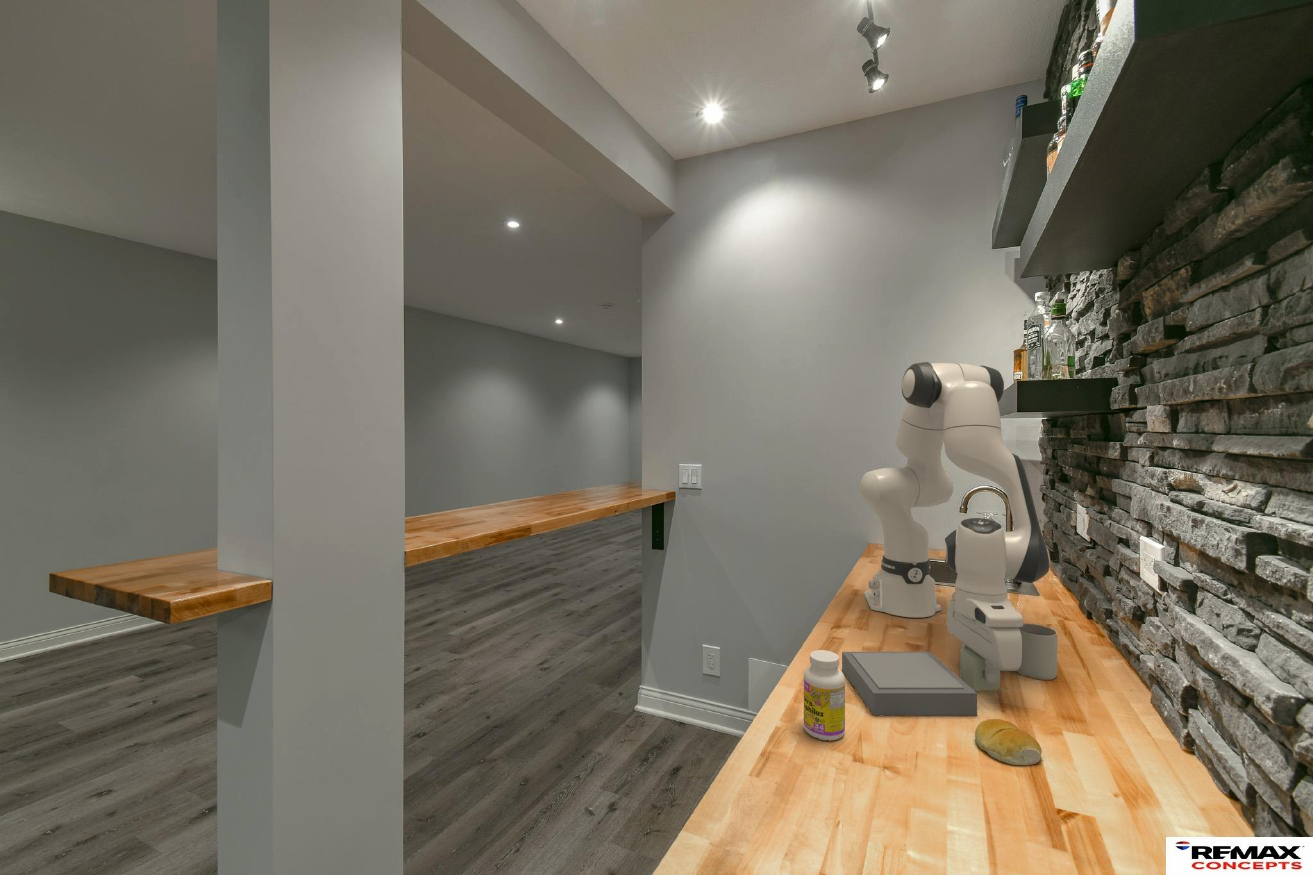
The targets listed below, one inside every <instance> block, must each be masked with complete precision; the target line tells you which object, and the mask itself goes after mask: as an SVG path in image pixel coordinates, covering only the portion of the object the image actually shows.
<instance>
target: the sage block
mask: <svg viewBox="0 0 1313 875" xmlns="http://www.w3.org/2000/svg"><path fill="white" fill-rule="evenodd" d="M959 653H960V655H959V658H960V659H959V660H960V661H959V664H960V665H959V668H960V669H959V674H960V675H959V678H960V679H962V680H963V681H964V682H965V683H966V684H967V685H968V686H970V687H971V688H972V689H973V690H974V691H1001V670H998V672H997V673H996V682H987V681H986V680H985V679H984V678H983V670H986V667H987V665H986V664H985V659H984V658H983V657H981V656H980V655H979V654H977V653H976V652H975V651H973V650H972V649H962V648H960V649H959Z"/></svg>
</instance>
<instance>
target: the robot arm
mask: <svg viewBox="0 0 1313 875" xmlns="http://www.w3.org/2000/svg"><path fill="white" fill-rule="evenodd" d="M1004 390H1005V381H1004V378H1003V376H1002V373H1001V372H1000V371H999V370H998V369H995V368H993V367H989V366H985V365H975V364H970V363H963V362H962V363H961V362H952V363H951V362H928V361H924V362H923V361H922V362H917V363H913V364H911V365H910V366H908V368H907V369H906V371H904V374H903V377H902V380H901V394H902V397H903V398H904V400H905V401H906V403H905V405H904V409H903V412H902V415H901V420H900V423H899V427H898V431H897V435H896V438H895V445H896V447H897V450H898V451H899V452H900V454H902V455H903V456H904V457H906V458H907V462H906V465H905V466H904V467H903V466H902V467H882V468H878V469H874V470H870V471H867V472H865V473H864V474H863V476H862V477H861V479H860V483H859V493H860V497H861V498H862V500H863V501H864V503H865V504H866V505H867V506H869V507H870V508H871V509H872V510H873V511H874V512H875V514H876V515H877V517H878V518H879V521H880V523H881V526H882V532H883V549H884V551H883V552H884V555H882V560H881V566H880V568H881V569H880V570H879V571H877V573H876V574H874V575H873V576H872V580H869V581H868V588H869V589H868V590H864V592H863V596H864V598H865V600H866V602H867V604H868V606H869V608H870V610H872V611H876V612H881V613H882V612H883V613H886V614H888V615H893V616H898V617H904V618H914V619H915V618H927V617H932V616H934V615H935V614H936V612H940V611H942V606H941V604H939V603H937V593H936V592H937V591H936V581H935V579H934V578H933V577H932V576H931V575H930V574H931V569H932V568H931V560H930V559H929V533H928V530H927V529H926V527H925V526H924V525H922V524H920V523H919V522H918V521H915V520H914V518H913V516H912V511H911V509H912V508H930V507H934V506H939V505H941V504H945V503H947V502H948V501H949V500H950V499H951V498H952V496H953V493H954V483H953V482H954V481H953V479H952V476H950V474H949V472H947V471H946V470H945V469H944V467H943V464H942V450H943V445H944V453H945V455H946V457H947V458H948V460H950V462H951V463H953V464H954V465H955V466H956V467H958V468H959V469H960V470H963V471H965V472H967V473H970V474H973V475H975V476H978V477H981V478H984V479H987V480H989V481H991V482H993V483H995V484H996V485H998V486H1000V487H1001V489H1002V490H1004V492H1005V493H1006V496H1007V500H1008V504H1009V508H1010V513H1011V517H1012V521H1013V525H1014V530H1011V531H1004V527H1003V525H1002V524H1000V523H999V522H997V521H995V520H992V519H989V518H982V517H970V518H965V519H963V520H961V521H960V522H959V524H958V527H957V529H955V530H953V531H952V532H951V533H949V534H948V535H947V536H946V537H945V538H944V542H945V548H946V550H945V551H946V553H945V558H944V564H945V565H946V566H947V567H948V568H949V569H950V570H951V571H952V572H954V573H955V574H957V575H956V579H955V582H954V592H953V593H952V594H951V600H949V602H948V605H947V610H946V611H947V613H946V629H947V631H948V633H949V634H951V635H952V636H954V637H955V638H956V639H957V640H958V641H960V643H961V649H972V650H973V651H975V652H976V653H977V654H979V655H980V656H981V657H983V658H984V659H985V664H986V665H987V667H986V670H983V678H984V679H985V680H986V681H987V682H996V673H997V672H998V670H1000V671H1001V672H1002V671H1004V672H1006V671H1008V672H1009V671H1012V672H1013V671H1017V670H1018V669H1019V667H1020V666H1021V661H1022V636H1021V632H1020V630H1019V629H1018V627H1022V626H1023V623H1024V618H1023V615H1022V614H1021V613H1020V612H1019V611H1018V610H1017V609H1016V608H1015V606H1014V605H1013V603H1012V602H1011V600H1010V599H1009V598H1008V588H1007V586H1006V582H1005V580H1011V581H1015V582H1021V583H1028V584H1033V583H1035V582H1037V581H1039V580H1041V579H1042V578H1043V577H1044V576H1046V575H1047V574H1049V570H1050V564H1051V558H1050V553H1049V550H1048V546H1047V544H1046V541H1045V539H1044V536H1043V532H1042V529H1041V525H1040V522H1039V518H1038V515H1037V511H1036V507H1035V502H1034V498H1033V494H1032V491H1031V487H1030V484H1029V479H1028V476H1027V473H1026V470H1025V466H1024V464H1023V462H1022V460H1021V458H1020V457H1019V456H1018V455H1017V454H1015V453H1013V452H1011V451H1010V450H1009V448H1008V447H1007V446H1006V444H1005V442H1004V440H1003V435H1002V422H1001V420H1002V419H1001V413H1000V407H999V402H1000V401H1001V400H1002V397H1003V394H1004Z"/></svg>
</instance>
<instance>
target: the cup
mask: <svg viewBox="0 0 1313 875" xmlns="http://www.w3.org/2000/svg"><path fill="white" fill-rule="evenodd" d="M1018 629H1019V630H1020V632H1021V636H1022V661H1021V666H1020V667H1019V669H1018V670H1016V671H1017V673H1018V674H1021V675H1022V676H1024V677H1027V678H1029V679H1035V680H1040V681H1051V680H1054V679H1055V678H1056V677H1057V676H1058V631H1057V630H1055V629H1054V628H1052V627H1050V626H1045V625H1042V624H1036V623H1030V622H1029V623H1027V622H1026V623H1025V622H1023V626H1022V627H1018Z"/></svg>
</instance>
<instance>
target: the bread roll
mask: <svg viewBox="0 0 1313 875" xmlns="http://www.w3.org/2000/svg"><path fill="white" fill-rule="evenodd" d="M974 739H975V740H974V741H975V743H976V745H977V746H978V747H979V748H980V749H981V750H982V751H983V752H987V754H988V755H989V756H990V757H992V758H993V759H996V760H998V761H1000V762H1001V763H1005V764H1008V765H1014V766H1031V765H1036V764H1038V762H1040V761H1041V756H1042V753H1043V751H1042V747H1041V745H1040V743H1039V742H1038V741H1037V740H1036V738H1034V737H1033V736H1031V734H1029V733H1028V732H1026V731H1024V730H1022V729H1020V728H1019V727H1018V726H1017V725H1015V724H1014V723H1012V722H1011V721H1008V720H1004V719H1001V718H989V719H985V720H982V721H981V722H980V723H979V724H978V725H977V726H976V729H975V732H974Z"/></svg>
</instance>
